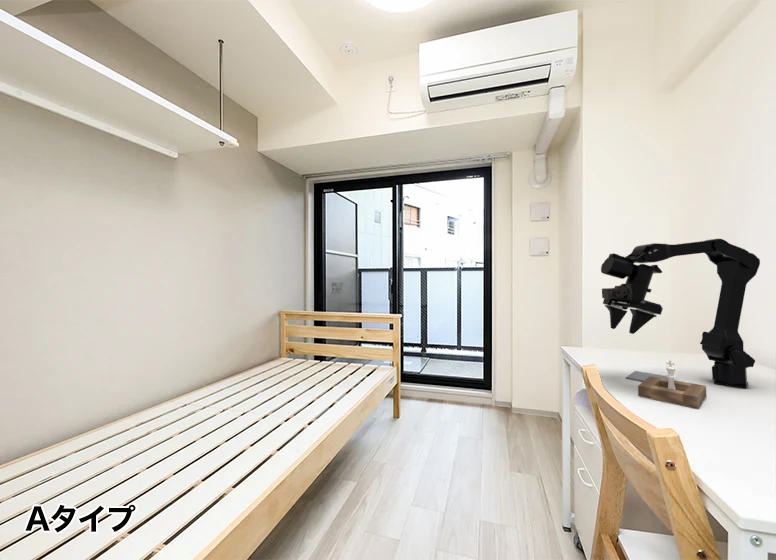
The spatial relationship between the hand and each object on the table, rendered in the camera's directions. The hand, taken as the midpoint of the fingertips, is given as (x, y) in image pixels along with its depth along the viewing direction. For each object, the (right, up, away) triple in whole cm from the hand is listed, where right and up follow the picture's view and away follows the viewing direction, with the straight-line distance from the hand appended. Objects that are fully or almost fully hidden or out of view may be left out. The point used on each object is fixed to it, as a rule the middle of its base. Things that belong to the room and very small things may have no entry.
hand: (621, 330), depth 96 cm
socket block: (+6, -16, -11) cm, 21 cm away
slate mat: (+12, -16, +4) cm, 21 cm away
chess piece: (+6, -17, -11) cm, 21 cm away
